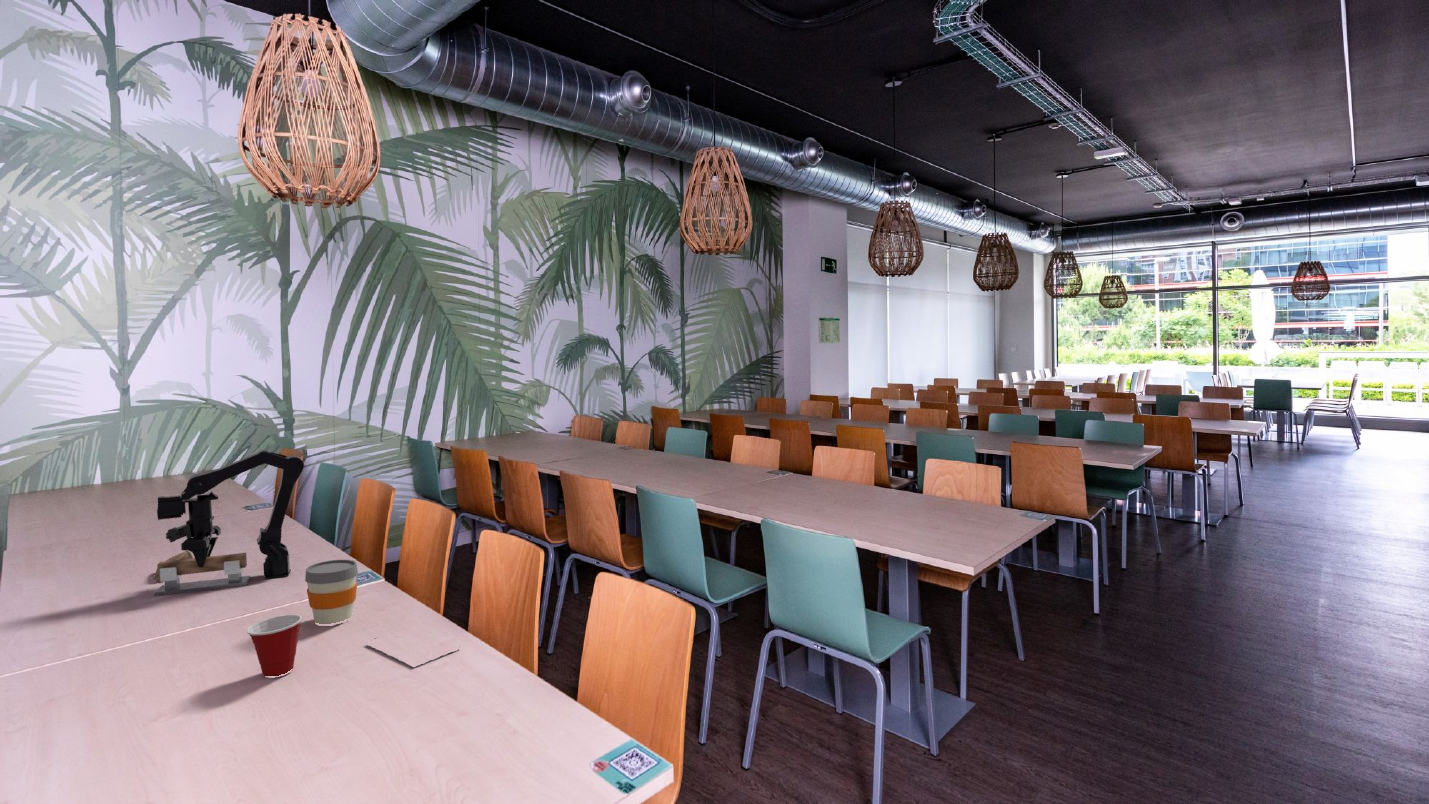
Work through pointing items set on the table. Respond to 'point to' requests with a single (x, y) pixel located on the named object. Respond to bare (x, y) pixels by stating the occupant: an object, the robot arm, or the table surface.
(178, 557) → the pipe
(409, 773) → the table surface
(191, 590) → the bracket stand
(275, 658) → the plastic cup
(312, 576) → the reusable coffee cup
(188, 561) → the rail
